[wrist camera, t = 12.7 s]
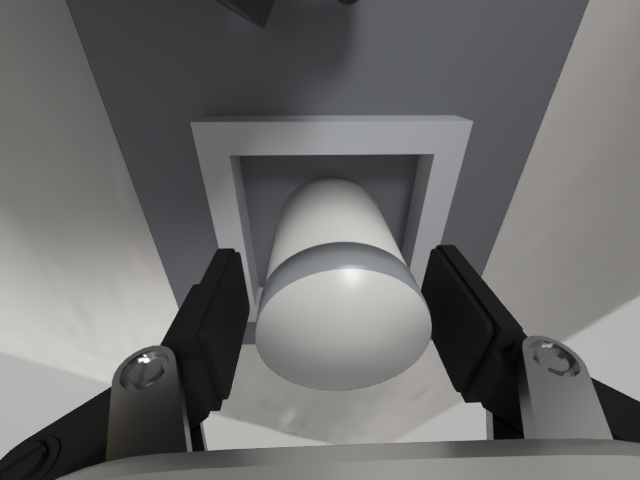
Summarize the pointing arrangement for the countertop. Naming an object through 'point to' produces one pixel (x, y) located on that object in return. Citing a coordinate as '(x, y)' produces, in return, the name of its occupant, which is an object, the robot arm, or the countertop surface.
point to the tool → (258, 9)
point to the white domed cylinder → (338, 293)
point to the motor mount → (324, 116)
